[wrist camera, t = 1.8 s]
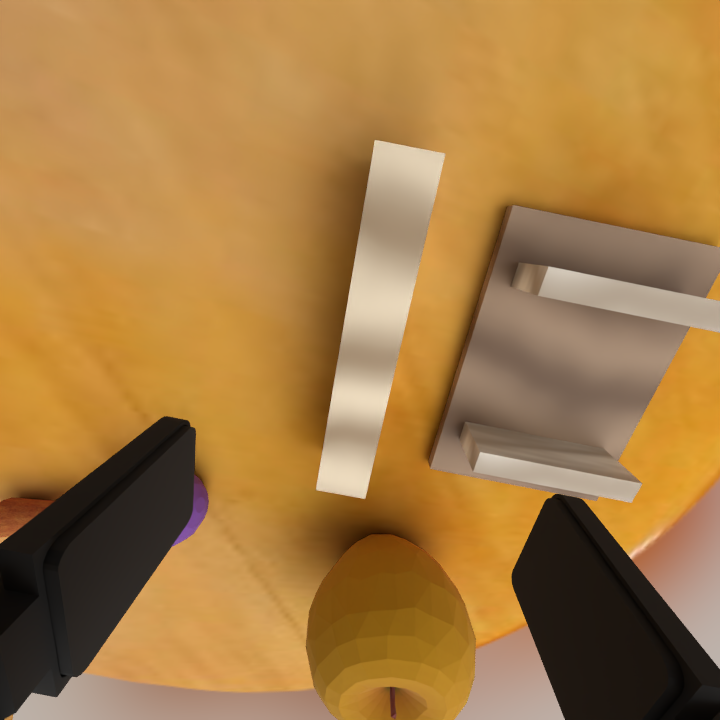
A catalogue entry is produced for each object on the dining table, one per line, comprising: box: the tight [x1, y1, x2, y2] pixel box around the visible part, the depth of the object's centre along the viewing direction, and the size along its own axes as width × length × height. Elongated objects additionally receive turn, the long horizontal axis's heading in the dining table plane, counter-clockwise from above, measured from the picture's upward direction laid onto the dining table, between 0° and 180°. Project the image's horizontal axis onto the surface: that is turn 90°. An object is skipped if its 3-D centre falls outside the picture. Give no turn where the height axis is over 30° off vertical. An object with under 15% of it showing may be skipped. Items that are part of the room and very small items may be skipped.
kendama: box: [0, 475, 209, 546], centre depth 29 cm, size 6×6×20 cm
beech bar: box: [316, 140, 445, 499], centre depth 23 cm, size 22×4×5 cm, turn 170°
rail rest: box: [429, 205, 720, 502], centre depth 23 cm, size 20×14×5 cm
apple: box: [306, 534, 476, 720], centre depth 27 cm, size 13×13×11 cm
